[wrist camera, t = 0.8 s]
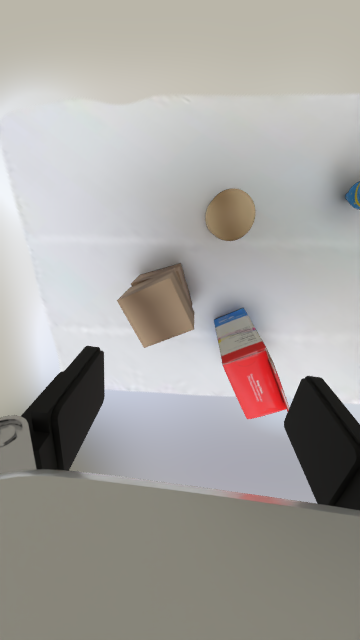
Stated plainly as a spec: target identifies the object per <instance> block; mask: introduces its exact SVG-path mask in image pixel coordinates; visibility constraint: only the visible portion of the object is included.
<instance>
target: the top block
mask: <svg viewBox="0 0 360 640" xmlns="http://www.w3.org/2000/svg"><path fill="white" fill-rule="evenodd" d="M117 301H118V303H119V305H120V307H121V308H122V310H123V312H124V314H125V315H126V317H127V319H128V321H129V322H130V324H131V326H132V328H133V329H134V331H135V333H136V335H137V336H138V338H139V340H140V342H141V343H142V345H143V347H144V348H145V347H148V346H151V345H153V344H156V343H159V342H161V341H164V340H167V339H170V338H172V337H175V336H178V335H180V334H183V333H186V332H188V331H191V330H194V310H193V308H192V306H191V304H190V301H189V299H188V297H187V295H186V293H185V290H184V288H183V286H182V284H181V281H180V279H179V277H178V275H177V273H176V270H175V268H173V269H171V270H169V271H166V272H164V273H162V274H160V275H157V276H155V277H153V278H151V279H148V280H146V281H144V282H142V283H139V284H137V285H135V286H133V287H130V288H129V289H128V290H127V291H126V292H125V293H124V294H123V295H122V296H121V297H120V298H119V299H118V300H117Z"/></svg>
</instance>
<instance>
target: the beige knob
mask: <svg viewBox="0 0 360 640" xmlns="http://www.w3.org/2000/svg"><path fill="white" fill-rule="evenodd" d="M205 219H206V225H207V227H208V229H209V230H210V232H211V233H212V234H214V235H215V236H216V237H218V238H219V239H222V240H225V241H233V240H237V239H239V238H241V237H243V236H244V235H245V234H246V233H247V232H248V231H249V230H250V228H251V227H252V225H253V222H254V219H255V206H254V203H253V201H252V199H251V197H250V196H249V195H248V194H247V193H246V192H244V191H242V190H239V189H227V190H224V191H222V192H221V193H219V194H218V195H217V196H216V197H215V198H214V199H213V200H212V201H211V203H210V204H209V206H208V208H207V211H206V216H205Z"/></svg>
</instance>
